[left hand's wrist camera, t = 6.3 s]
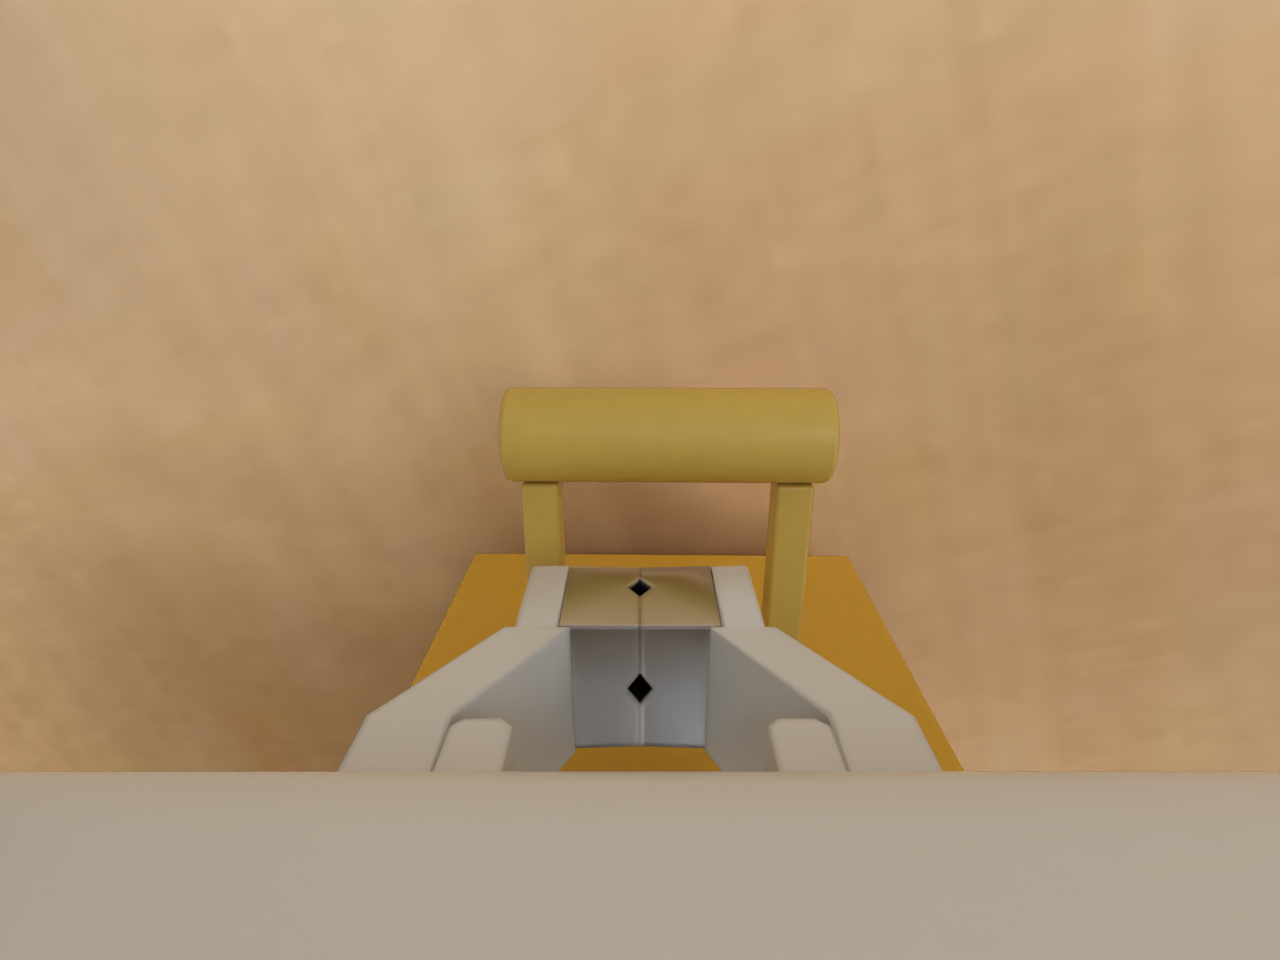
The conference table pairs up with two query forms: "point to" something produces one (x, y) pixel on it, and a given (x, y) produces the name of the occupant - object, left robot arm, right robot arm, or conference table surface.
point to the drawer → (783, 579)
